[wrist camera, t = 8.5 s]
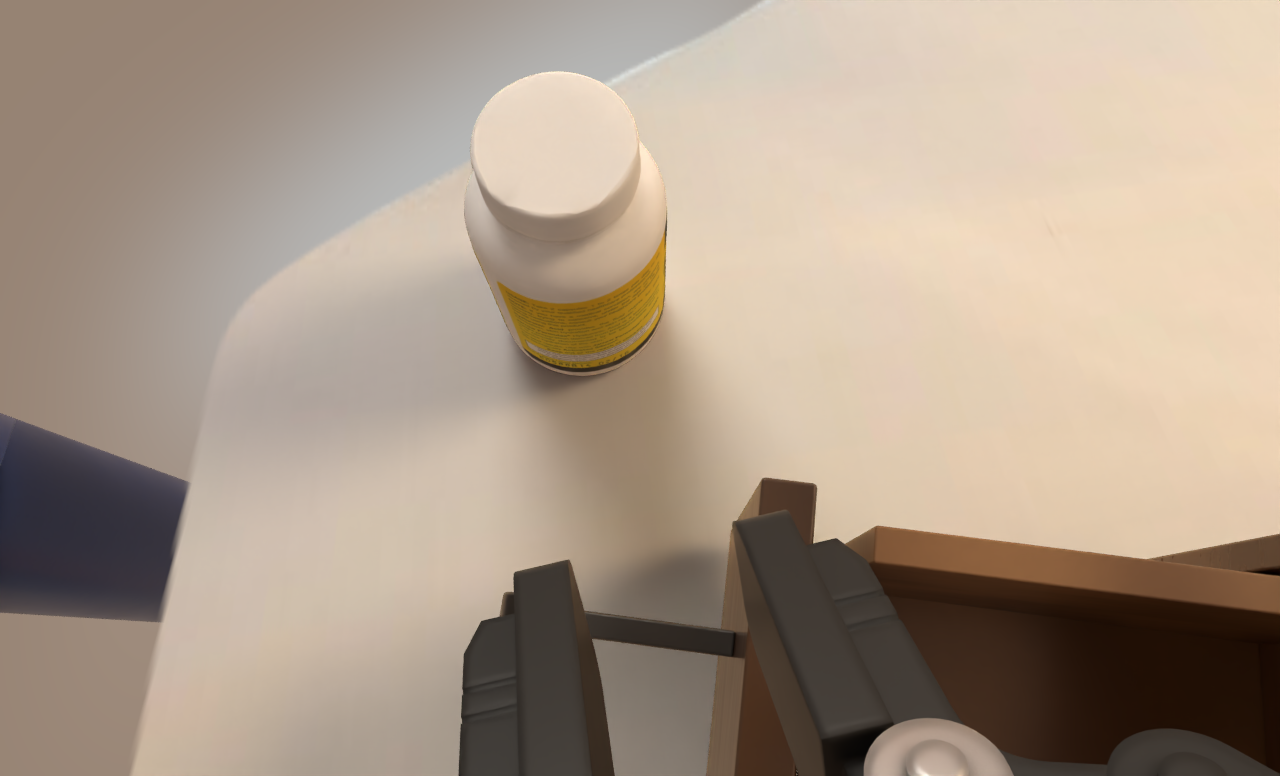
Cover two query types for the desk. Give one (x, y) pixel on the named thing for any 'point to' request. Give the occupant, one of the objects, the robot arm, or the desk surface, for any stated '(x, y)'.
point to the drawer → (1018, 645)
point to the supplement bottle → (568, 222)
